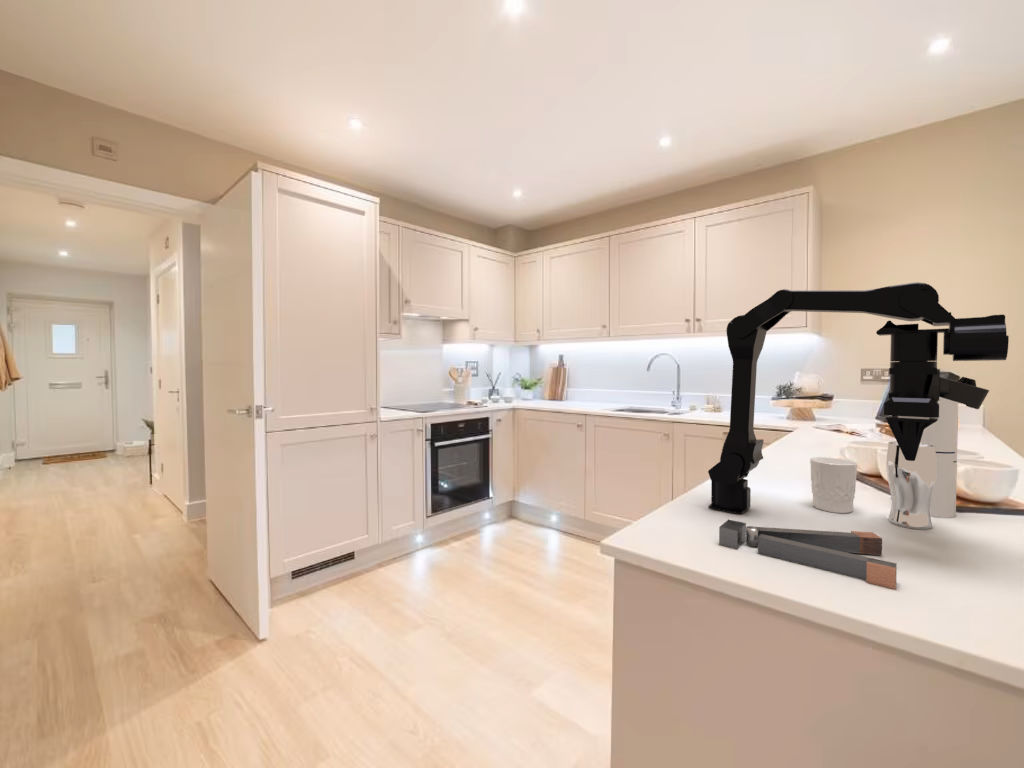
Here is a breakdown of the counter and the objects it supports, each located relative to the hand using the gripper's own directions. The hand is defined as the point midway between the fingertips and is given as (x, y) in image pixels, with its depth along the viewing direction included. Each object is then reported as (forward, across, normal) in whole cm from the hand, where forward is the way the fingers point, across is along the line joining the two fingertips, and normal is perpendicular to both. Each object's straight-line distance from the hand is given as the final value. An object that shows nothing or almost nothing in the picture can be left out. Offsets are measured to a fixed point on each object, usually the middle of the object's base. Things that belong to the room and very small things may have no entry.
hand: (911, 456), depth 73 cm
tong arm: (+14, -13, +12) cm, 23 cm away
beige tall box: (+15, +24, -3) cm, 28 cm away
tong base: (+15, -19, +12) cm, 27 cm away
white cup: (+15, +14, +12) cm, 24 cm away
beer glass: (+15, +12, 0) cm, 19 cm away
